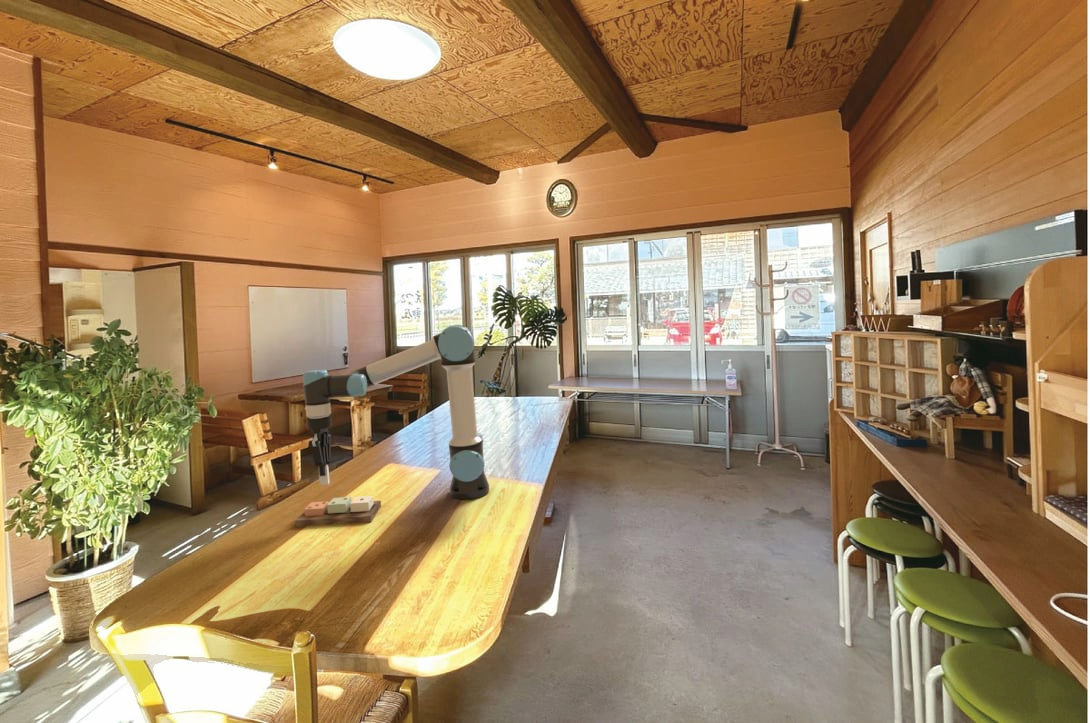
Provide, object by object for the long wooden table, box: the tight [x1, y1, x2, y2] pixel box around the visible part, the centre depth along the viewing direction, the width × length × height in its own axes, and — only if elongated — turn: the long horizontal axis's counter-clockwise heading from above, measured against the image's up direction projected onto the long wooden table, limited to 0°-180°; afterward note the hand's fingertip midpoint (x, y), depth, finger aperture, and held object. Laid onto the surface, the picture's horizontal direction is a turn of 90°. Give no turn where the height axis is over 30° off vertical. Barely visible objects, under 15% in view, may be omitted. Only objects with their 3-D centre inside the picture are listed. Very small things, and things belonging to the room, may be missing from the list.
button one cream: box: [350, 495, 375, 512], centre depth 161 cm, size 6×6×3 cm
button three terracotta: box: [303, 501, 330, 516], centre depth 160 cm, size 6×6×3 cm
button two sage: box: [327, 496, 353, 513], centre depth 160 cm, size 6×6×3 cm
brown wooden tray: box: [295, 500, 382, 528], centre depth 161 cm, size 24×13×2 cm, turn 95°
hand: (324, 483), depth 159 cm, fingers closed
